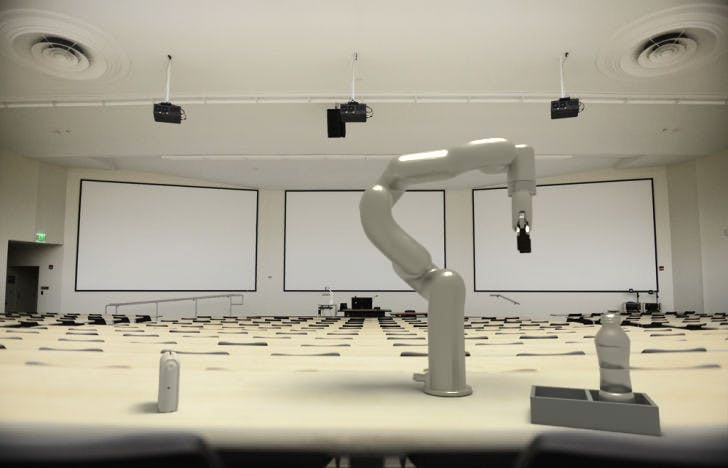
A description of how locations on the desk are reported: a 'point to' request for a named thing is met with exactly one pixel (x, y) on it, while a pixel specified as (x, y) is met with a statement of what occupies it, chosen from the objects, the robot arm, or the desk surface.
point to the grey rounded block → (169, 382)
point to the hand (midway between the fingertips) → (524, 251)
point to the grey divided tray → (593, 410)
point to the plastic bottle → (613, 361)
